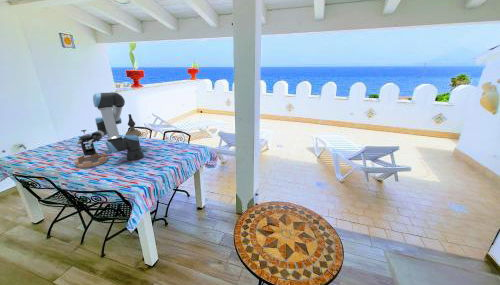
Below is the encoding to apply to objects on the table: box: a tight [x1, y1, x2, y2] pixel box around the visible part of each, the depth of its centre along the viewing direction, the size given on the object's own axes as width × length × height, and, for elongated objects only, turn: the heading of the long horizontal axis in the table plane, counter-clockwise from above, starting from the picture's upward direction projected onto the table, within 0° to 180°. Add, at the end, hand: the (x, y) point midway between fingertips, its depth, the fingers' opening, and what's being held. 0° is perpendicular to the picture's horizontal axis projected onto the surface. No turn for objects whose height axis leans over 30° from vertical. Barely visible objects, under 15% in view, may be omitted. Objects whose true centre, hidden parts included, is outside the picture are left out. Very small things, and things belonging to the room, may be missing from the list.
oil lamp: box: [124, 114, 143, 152], centre depth 213 cm, size 15×15×40 cm
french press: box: [78, 129, 97, 157], centre depth 184 cm, size 12×9×23 cm
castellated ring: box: [74, 151, 108, 169], centre depth 190 cm, size 24×24×6 cm
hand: (83, 143), depth 179 cm, fingers closed on french press, 9 cm apart
